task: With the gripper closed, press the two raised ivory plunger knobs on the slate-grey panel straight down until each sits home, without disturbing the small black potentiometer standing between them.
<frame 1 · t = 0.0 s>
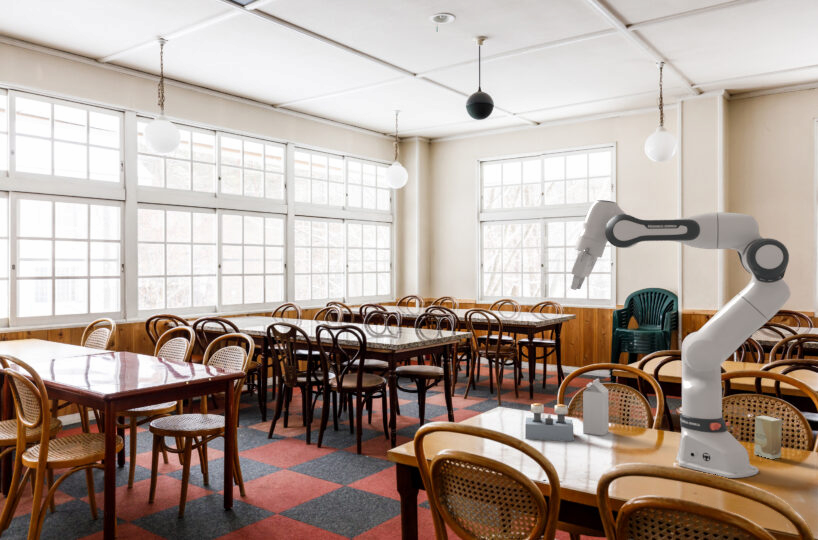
hand: (575, 288, 205), 52 cm above the table, tool tilted 20°, fingers open, 8 cm apart
milk carton: (595, 433, 226), on the table
knob a: (561, 416, 220), point 7 cm above the table, slide at 3.0 cm
knob b: (537, 415, 222), point 7 cm above the table, slide at 3.0 cm
skincare box: (768, 457, 197), on the table
mount: (549, 436, 221), on the table
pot: (549, 424, 218), point 5 cm above the table, touching mount
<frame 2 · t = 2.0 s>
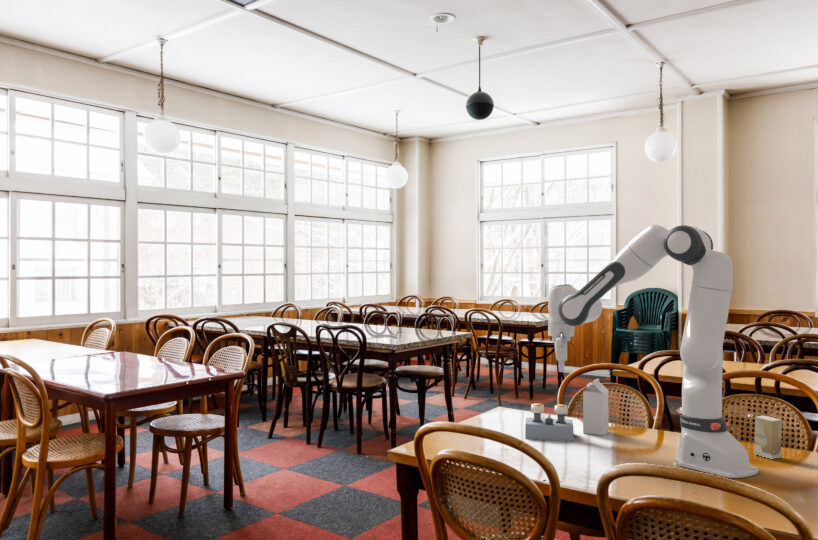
hand: (561, 370, 220), 23 cm above the table, tool pointing down, fingers open, 4 cm apart
nothing on the table moved.
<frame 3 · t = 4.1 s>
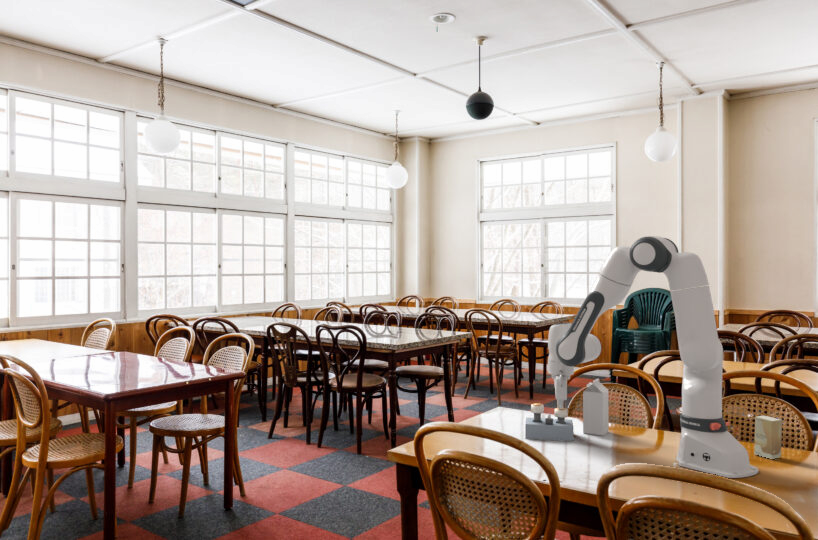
hand: (560, 408, 221), 10 cm above the table, tool pointing down, fingers closed, pressing on knob a
knob a: (561, 419, 220), point 6 cm above the table, slide at 1.9 cm, touching gripper
everything else where it was.
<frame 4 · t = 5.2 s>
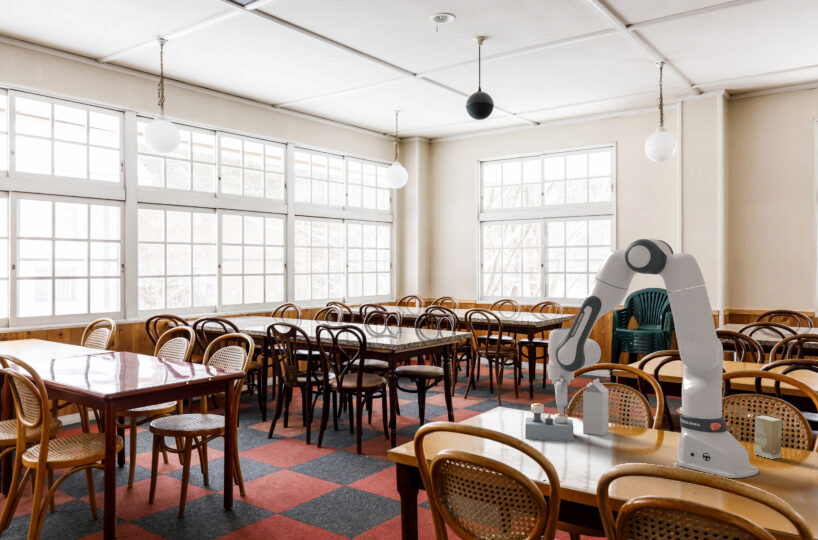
hand: (561, 413, 220), 8 cm above the table, tool pointing down, fingers closed
knob a: (561, 425, 220), point 4 cm above the table, slide at -0.1 cm
everything else where it was.
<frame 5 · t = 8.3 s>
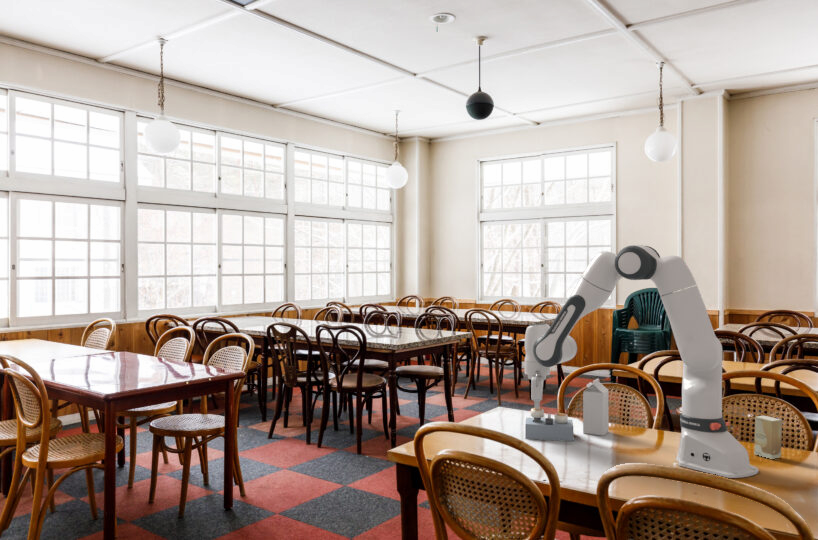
hand: (537, 408, 222), 9 cm above the table, tool pointing down, fingers closed, pressing on knob b
knob b: (537, 419, 222), point 6 cm above the table, slide at 1.4 cm, touching gripper
everything else where it was.
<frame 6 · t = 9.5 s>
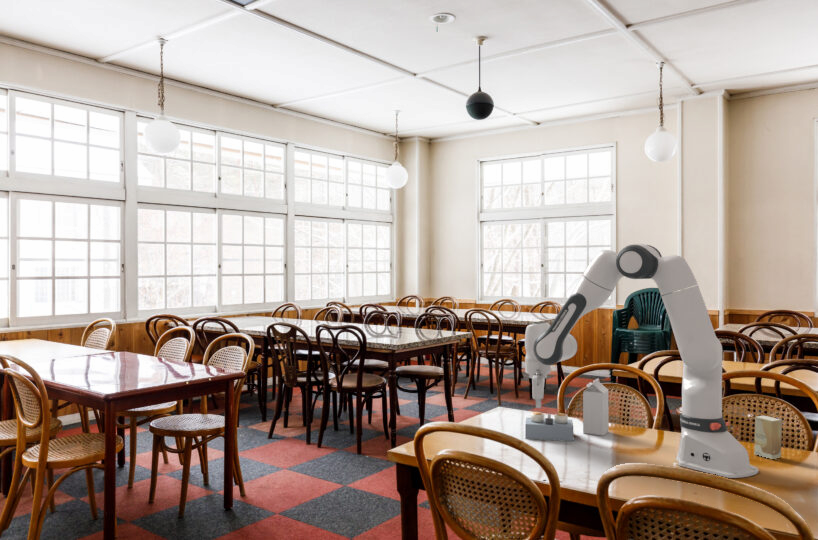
hand: (538, 407, 222), 10 cm above the table, tool pointing down, fingers closed
knob b: (537, 423, 222), point 4 cm above the table, slide at -0.1 cm
everything else where it was.
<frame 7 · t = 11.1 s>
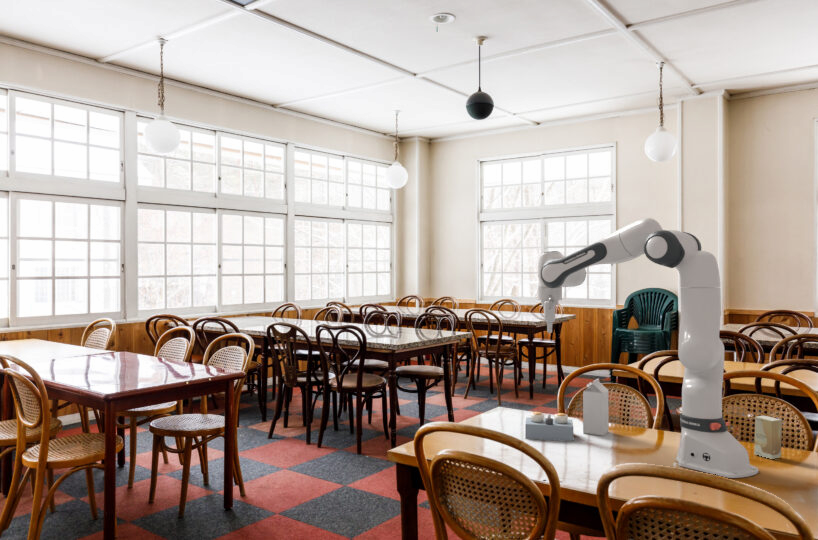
hand: (549, 332, 234), 35 cm above the table, tool pointing down, fingers closed
nothing on the table moved.
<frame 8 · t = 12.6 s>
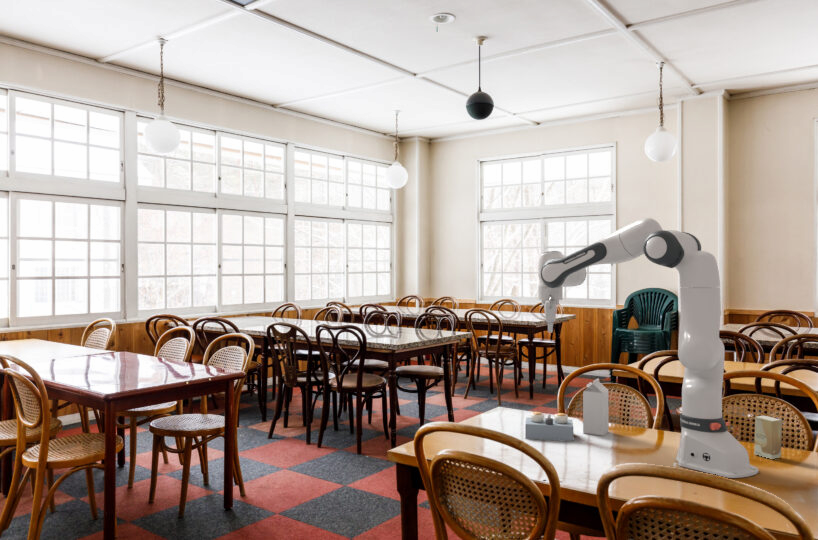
hand: (550, 332, 234), 35 cm above the table, tool pointing down, fingers closed
nothing on the table moved.
at the end: knob a slide at -0.1 cm; knob b slide at -0.1 cm; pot moved 0.0 cm from its start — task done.
